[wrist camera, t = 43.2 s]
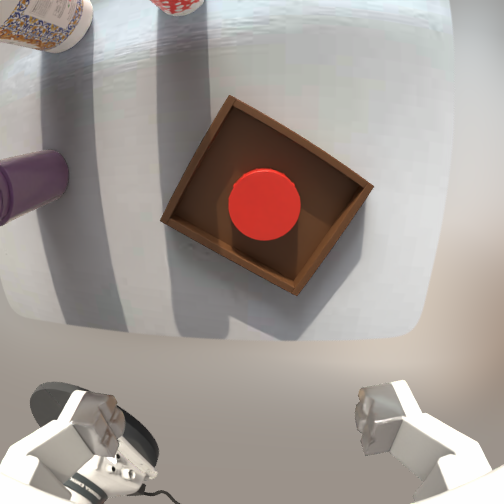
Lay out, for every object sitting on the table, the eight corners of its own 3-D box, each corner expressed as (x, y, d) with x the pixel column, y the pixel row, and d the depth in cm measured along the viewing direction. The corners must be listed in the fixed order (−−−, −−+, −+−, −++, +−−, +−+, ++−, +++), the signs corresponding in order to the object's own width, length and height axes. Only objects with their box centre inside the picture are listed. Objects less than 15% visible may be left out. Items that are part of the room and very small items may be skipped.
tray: (367, 182, 28) (374, 186, 26) (294, 286, 32) (297, 296, 30) (231, 97, 25) (229, 94, 23) (165, 215, 29) (159, 221, 27)
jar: (77, 179, 28) (10, 206, 18) (47, 210, 29) (-16, 245, 19) (52, 138, 26) (-19, 150, 16) (23, 171, 27) (-44, 194, 18)
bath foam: (32, 44, 22) (-110, 26, 3) (65, -9, 20) (-62, -63, 1) (71, 62, 23) (-90, 38, 5) (107, 4, 21) (-29, -72, 2)
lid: (228, 168, 27) (226, 171, 25) (298, 167, 27) (301, 170, 25) (231, 234, 29) (229, 241, 27) (297, 233, 29) (300, 240, 27)
